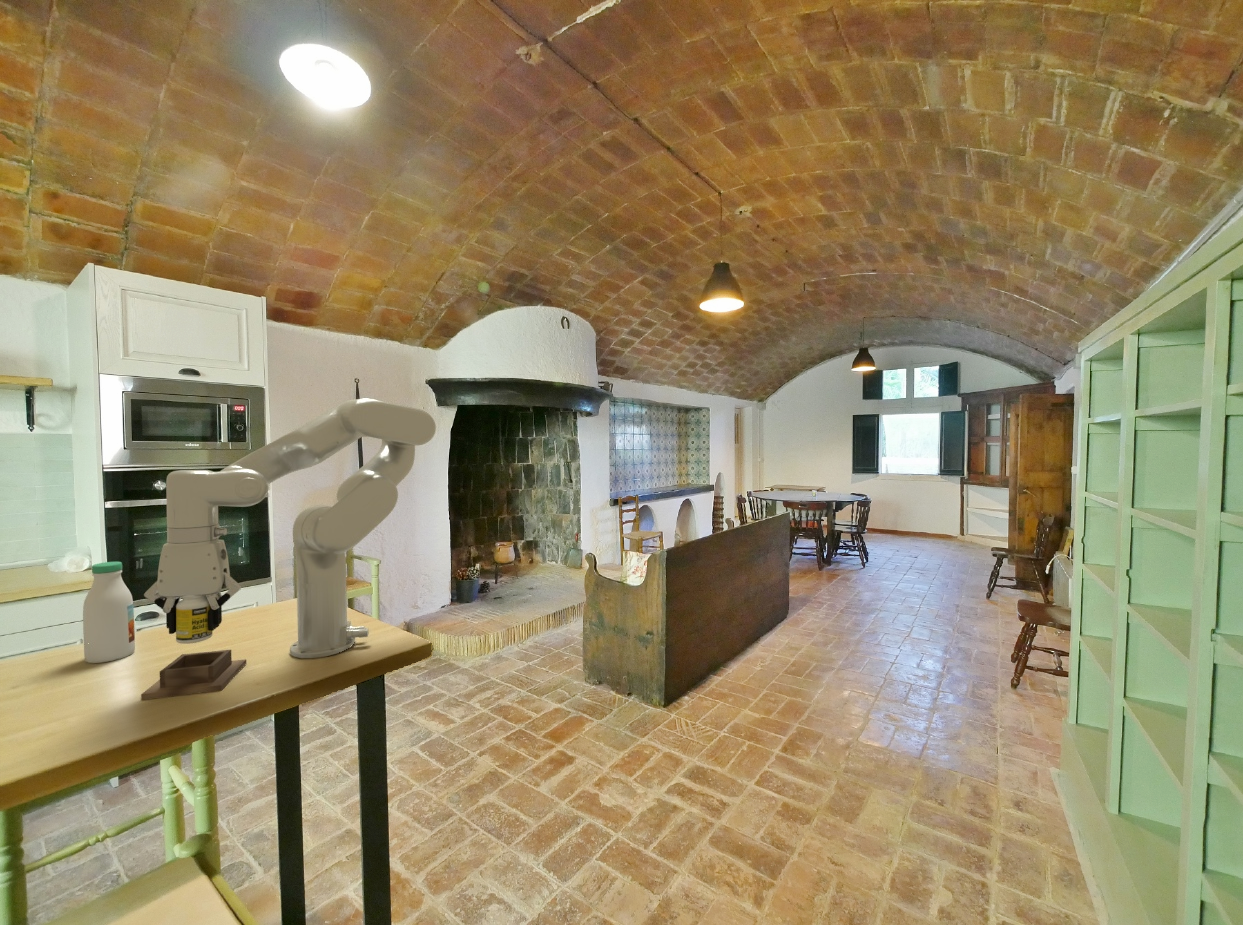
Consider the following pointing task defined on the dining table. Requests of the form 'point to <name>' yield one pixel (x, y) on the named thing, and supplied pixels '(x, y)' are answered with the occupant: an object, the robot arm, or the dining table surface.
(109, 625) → the milk bottle
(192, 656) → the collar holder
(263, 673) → the dining table surface
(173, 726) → the dining table surface
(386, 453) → the robot arm
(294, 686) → the dining table surface
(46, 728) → the dining table surface
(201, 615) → the supplement bottle
